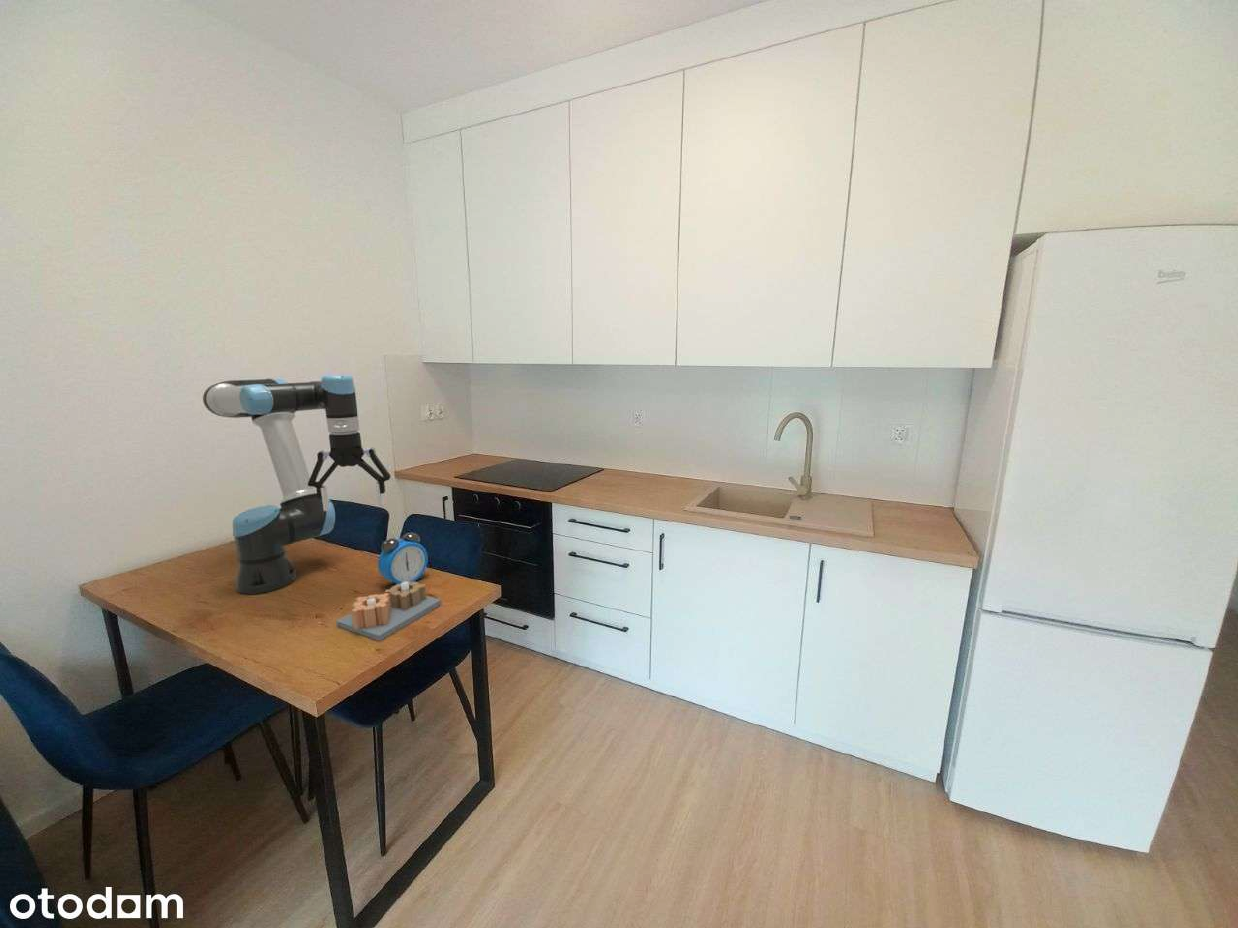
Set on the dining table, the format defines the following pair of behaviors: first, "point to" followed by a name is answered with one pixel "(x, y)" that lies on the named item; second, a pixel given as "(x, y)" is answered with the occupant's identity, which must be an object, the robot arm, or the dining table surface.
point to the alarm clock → (402, 559)
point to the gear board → (397, 610)
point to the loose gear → (371, 611)
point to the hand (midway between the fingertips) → (353, 507)
